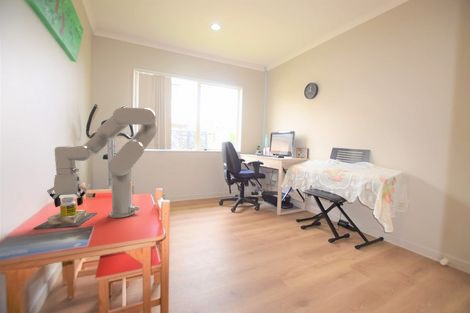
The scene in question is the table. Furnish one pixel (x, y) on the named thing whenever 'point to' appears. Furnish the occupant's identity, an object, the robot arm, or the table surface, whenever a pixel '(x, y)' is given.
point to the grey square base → (66, 220)
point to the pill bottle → (68, 206)
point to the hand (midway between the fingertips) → (69, 205)
